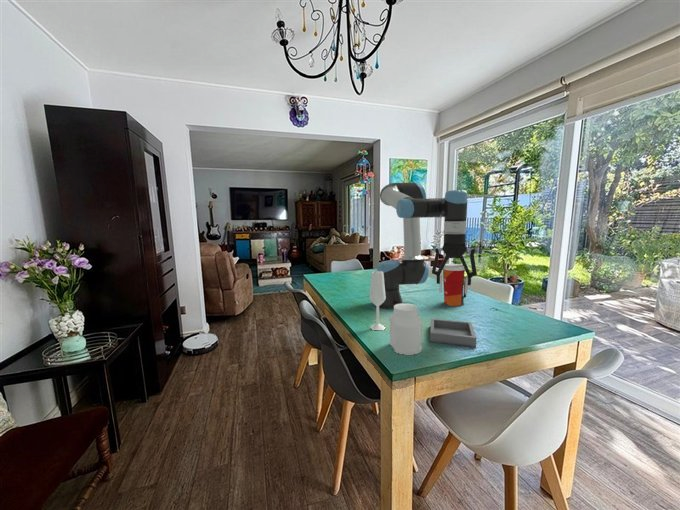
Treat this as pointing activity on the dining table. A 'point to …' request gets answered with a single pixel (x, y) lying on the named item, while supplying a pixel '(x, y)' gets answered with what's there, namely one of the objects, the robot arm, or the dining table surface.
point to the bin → (452, 332)
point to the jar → (406, 329)
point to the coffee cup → (453, 284)
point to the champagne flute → (377, 295)
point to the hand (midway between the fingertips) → (452, 292)
